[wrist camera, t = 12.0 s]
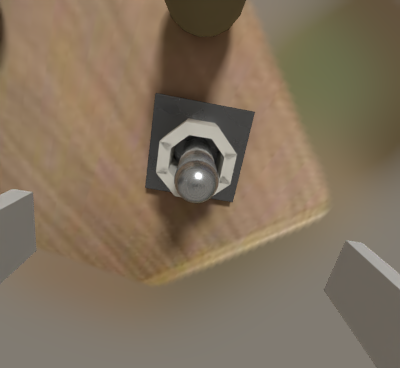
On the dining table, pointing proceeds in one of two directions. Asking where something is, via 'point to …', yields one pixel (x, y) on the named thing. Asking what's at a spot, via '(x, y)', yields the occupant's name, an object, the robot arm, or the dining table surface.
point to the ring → (200, 129)
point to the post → (197, 147)
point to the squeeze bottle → (205, 15)
